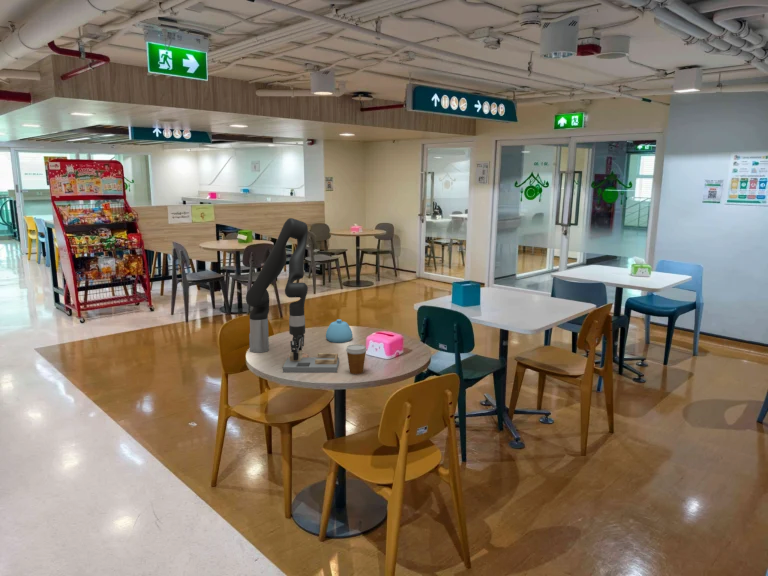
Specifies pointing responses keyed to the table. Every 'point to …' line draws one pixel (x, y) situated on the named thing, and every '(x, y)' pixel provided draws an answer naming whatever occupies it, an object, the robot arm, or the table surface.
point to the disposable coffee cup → (356, 358)
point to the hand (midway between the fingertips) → (297, 358)
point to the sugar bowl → (339, 332)
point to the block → (298, 356)
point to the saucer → (302, 355)
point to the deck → (310, 365)
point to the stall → (327, 360)
